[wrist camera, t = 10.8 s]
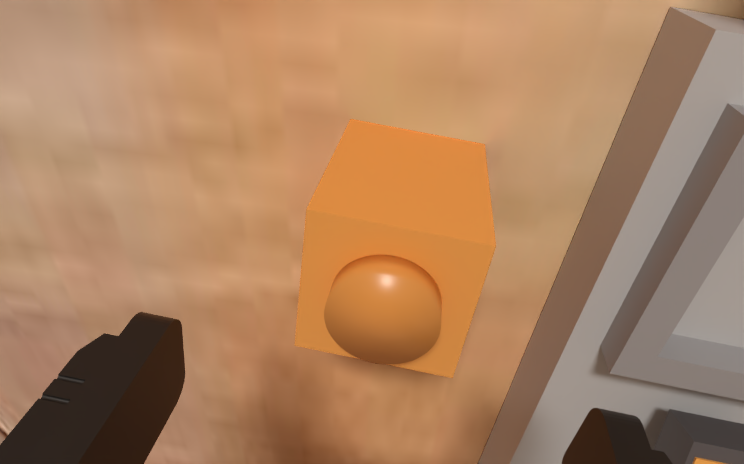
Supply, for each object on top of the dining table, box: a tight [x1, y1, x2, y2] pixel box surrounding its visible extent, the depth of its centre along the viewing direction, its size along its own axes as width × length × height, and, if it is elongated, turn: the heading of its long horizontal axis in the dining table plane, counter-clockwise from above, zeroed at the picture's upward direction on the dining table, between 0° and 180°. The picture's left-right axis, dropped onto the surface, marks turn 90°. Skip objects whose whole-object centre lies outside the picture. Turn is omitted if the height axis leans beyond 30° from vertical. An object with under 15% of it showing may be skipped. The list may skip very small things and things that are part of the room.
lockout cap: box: [295, 119, 496, 378], centre depth 15 cm, size 4×4×7 cm
